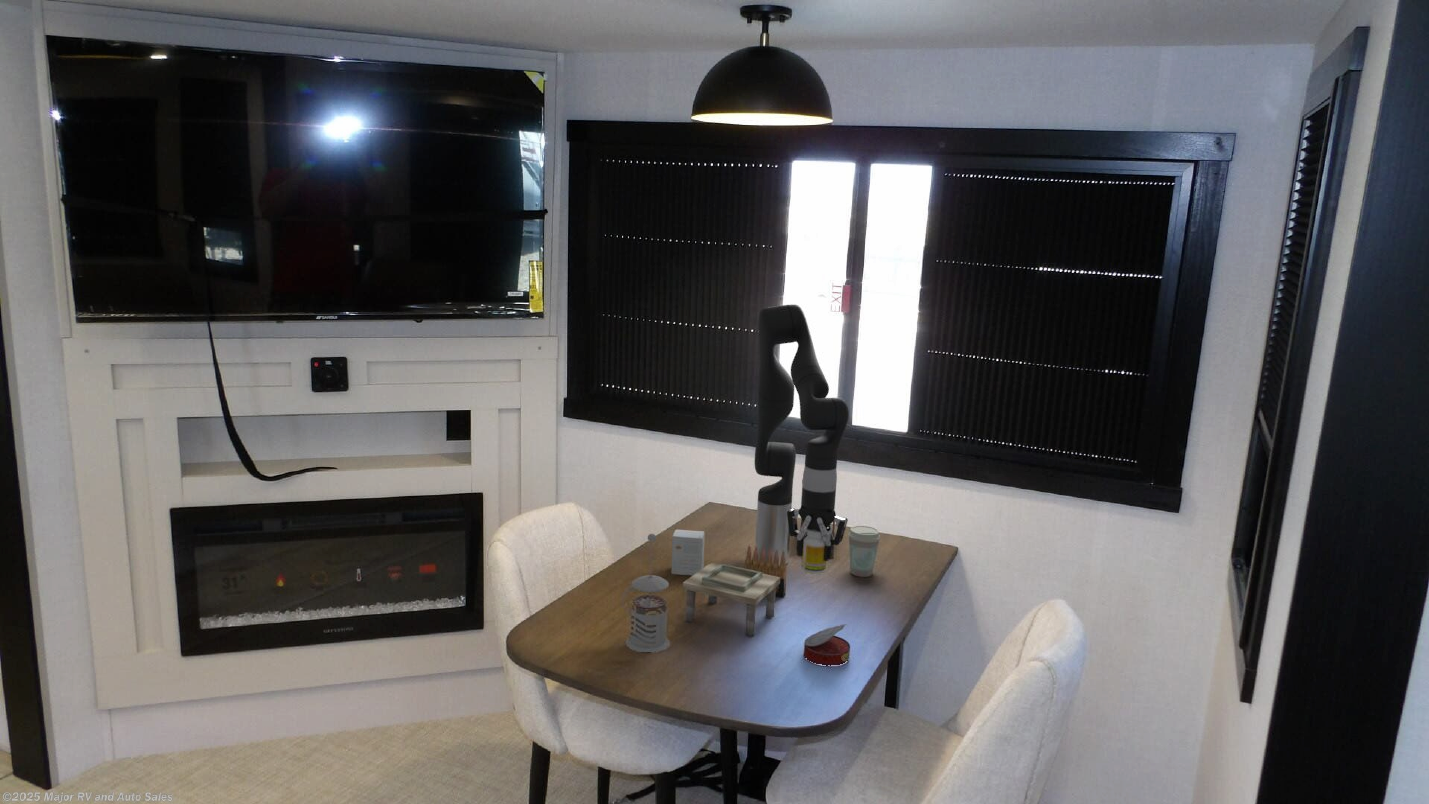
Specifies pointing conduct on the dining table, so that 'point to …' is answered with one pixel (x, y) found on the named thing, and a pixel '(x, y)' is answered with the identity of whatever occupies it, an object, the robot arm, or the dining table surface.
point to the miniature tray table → (732, 590)
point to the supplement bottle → (813, 552)
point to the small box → (687, 552)
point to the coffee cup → (863, 549)
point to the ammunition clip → (769, 567)
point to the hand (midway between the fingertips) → (814, 557)
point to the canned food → (827, 647)
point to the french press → (651, 635)
